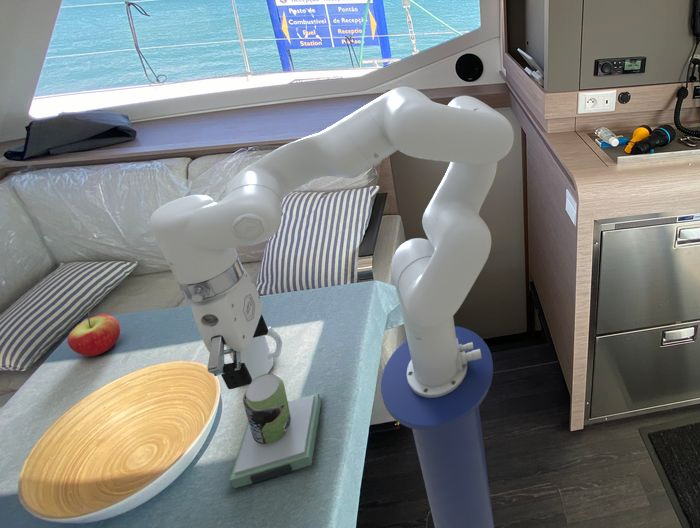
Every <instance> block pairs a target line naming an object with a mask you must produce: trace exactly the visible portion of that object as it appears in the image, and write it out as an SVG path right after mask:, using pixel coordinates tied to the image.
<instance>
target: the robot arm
mask: <svg viewBox="0 0 700 528" xmlns="http://www.w3.org/2000/svg"><path fill="white" fill-rule="evenodd" d="M514 141H515V131H514V128H513V126H512V124H511V122H510V121H509V119H508V118H506V117H505V116H504V115H503V114H502V113H501V112H499V111H497V110H496V109H494V108H493V107H491V106H489V105H488V104H486V103H485V102H483V101H481V100H480V99H478V98H476V97H474V96H470V95H460V96H455V97H454V98H452V100H451V101H449V103H448V104H447V105H446V104H444V103H443V104H442V103H438V102H435V101H433V100H431V98H429V97H428V96H427V95H425V94H424V93H423V92H421V91H420V90H418V89H416V88H414V87H410V86H399V87H395V88H392V89H391V90H389V91H387V92H386V93H383V94H382V95H380V96H379V97H377V98H375V99H374V100H372V101H370V102H368V103H367V104H365V105H364V106H362V107H360V108H359V109H357V110H355V111H354V112H352V113H351V114H349V115H347V116H345V117H344V118H342V119H340V120H339V121H337V122H336V123H334V124H332V125H330V126H328V127H327V128H325V129H324V130H322V131H320V132H318V133H314V134H311V135H308V136H306V137H303V138H300V139H297V140H294V141H292V142H289V143H287V144H284V145H282V146H280V147H278V148H276V149H274V150H272V151H271V152H269V153H267V154H266V155H264V156H262V157H261V158H258V160H256V161H254V162H252V163H251V164H249V165H247V166H246V167H245V168H243V169H241V170H240V171H238V172H237V174H235V176H234V177H232V178H231V180H230V181H229V182H228V184H227V187H226V189H225V191H224V195H223V198H222V199H220V200H219V201H218V202H215V201H214V199H213V198H212V197H210V196H208V195H203V194H192V195H187V196H182V197H179V198H176V199H173V200H171V201H168V202H165V203H164V204H162V205H161V206H159V207H158V208H156V209H155V210H154V211H153V212H152V213H151V215H150V217H149V218H148V219H149V221H148V225H149V228H150V231H151V233H152V235H153V237H154V239H155V241H156V243H157V245H158V247H159V249H160V251H161V253H162V255H163V257H164V258H165V261H166V262H167V265H168V267H169V269H170V270H171V273H172V274H173V276H174V278H175V280H176V282H177V284H178V286H179V288H180V290H181V293H182V295H183V296H184V299H185V300H186V301H187V302H189V303H190V309H191V312H192V316H193V319H194V322H195V325H196V328H197V330H198V333H199V335H200V338H201V340H202V342H203V344H204V346H205V348H206V349H207V351H208V353H209V357H208V362H207V372H208V373H210V374H212V375H213V376H215V377H217V376H221V378H222V380H223V382H224V383H225V385H226V388H227V389H228V390H235V389H238V388H241V387H245V386H248V385H249V384H251V382H252V378H251V376H250V373H249V371H248V369H247V367H246V365H245V363H241V350H245V349H246V348H247V347H248V346H249V344H250V343H251V341H252V338H255V337H259V336H263V335H265V336H267V335H266V334H267V333H268V328H267V327H268V325H267V323H266V321H265V319H264V316H263V314H262V312H263V309H264V303H263V300H262V298H261V296H260V293H259V291H258V290H257V287H256V286H255V283H254V282H253V280H252V278H251V277H250V275H249V273H248V271H247V270H246V269H245V268H244V266H243V265H242V262H241V259H240V257H239V255H238V252H237V250H236V248H243V247H249V246H255V245H258V244H261V243H262V244H263V243H264V242H267V241H268V240H270V239H271V238H273V237H274V236H275V234H277V232H278V231H279V229H280V227H281V223H282V213H283V211H282V209H283V208H282V205H283V198H285V197H287V196H288V195H289V194H291V193H292V192H294V191H296V190H297V189H299V188H301V187H302V186H305V185H306V184H308V183H310V182H313V181H314V180H317V179H320V178H324V177H338V178H344V179H354V178H357V177H359V176H361V175H363V174H364V173H365V172H366V171H368V170H370V169H371V168H372V167H373V168H374V166H376V165H377V164H378V163H380V162H382V161H384V160H385V159H387V158H388V157H390V156H391V155H393V154H394V153H395V152H397V151H399V152H400V153H402V154H404V155H406V156H409V157H412V158H416V159H420V160H429V161H435V162H445V163H446V162H447V163H449V165H448V167H447V170H446V172H445V174H444V175H443V177H442V179H441V181H440V183H439V185H438V186H437V188H436V189H435V192H434V194H433V195H432V198H431V199H430V201H429V203H428V205H427V207H426V208H425V210H424V212H423V214H422V218H421V219H422V220H421V224H422V228H423V231H424V233H425V235H426V238H427V239H426V238H422V237H416V238H410V239H408V240H406V241H405V242H403V243H401V244H400V246H398V247H397V249H396V250H395V252H394V254H393V256H392V260H391V268H390V270H391V276H392V280H393V284H394V287H395V291H396V292H395V293H396V295H397V298H398V302H399V303H398V304H399V307H400V313H401V315H402V321H403V326H404V331H405V335H406V340H407V341H408V345H409V350H410V355H411V361H410V362H409V365H408V368H407V380H408V384H409V386H410V388H411V389H412V390H413V391H414V392H415V393H416V394H418V395H420V396H422V397H427V398H436V397H441V396H444V395H446V394H448V393H450V392H452V391H453V390H454V389H456V388H457V387H458V386H459V385H460V384H461V382H462V381H463V379H464V378H465V375H466V372H467V362H469V361H472V360H473V361H474V360H478V359H482V357H481V351H480V349H477V350H473V351H471V352H467V353H465V351H466V350H471V349H474V348H473V343H472V342H471V343H467V344H465V345H462V344H458V339H457V338H456V333H455V326H456V325H455V319H454V315H455V314H456V313H457V312H458V310H459V309H460V308H461V306H462V304H463V303H464V302H465V299H466V298H467V296H468V294H469V293H470V291H471V289H472V287H473V286H474V284H475V282H476V281H477V278H478V277H479V275H480V273H481V272H482V270H483V268H484V267H485V265H486V263H487V261H488V259H489V256H490V253H491V248H492V235H491V231H490V229H489V226H488V225H487V224H486V222H485V221H484V220H483V218H482V217H481V216H480V210H481V208H482V206H483V204H484V202H485V200H486V198H487V196H488V194H489V192H490V189H491V187H492V186H493V183H494V180H495V177H496V175H497V168H498V162H499V161H501V160H503V159H504V158H506V156H507V155H508V154H509V153H510V151H511V150H512V147H513V145H514ZM225 345H228V346H229V347H230V349H227V348H226V349H225ZM229 353H233V360H232V362H229V363H226V362H225V355H230V354H229Z"/></svg>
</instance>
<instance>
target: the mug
mask: <svg viewBox="0 0 700 528" xmlns="http://www.w3.org/2000/svg"><path fill="white" fill-rule="evenodd" d="M267 328H268V333H267V334H266V335H263V336H259V337H255V338H252V341H251V343H250V344H249V346H248V347H247V348H246V349H245V350H241V363H245V365H246V367H247V369H248V371H249V373H250V376H251V378H252V381H253V380H254V379H255V378H257V377H259V376H261V375H263V374H269V372H270V371H271V370H272V368H273V366H274V359H277V358H279V357H280V356H281V352H282V348H283V340H282V337H281V336H280V335H279V333H278V332H277V331H276V330H274V329H273V327H272V326H267ZM266 336H269V337H271V338H272V339H273V340H274V341H275V342H276V347H275V349H272V350H271V349H270V346H269V343H268V341H267V338H266ZM224 347H225V348H226V349H230V347H229V346H228V345H224ZM228 355H229V356H230V358H231V361H233V353H229V354H228Z"/></svg>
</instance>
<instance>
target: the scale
mask: <svg viewBox="0 0 700 528" xmlns="http://www.w3.org/2000/svg"><path fill="white" fill-rule="evenodd" d="M287 401H288V406H289V411H290V416H291V422H290V426H289V428H288V430H287V431H286V432H285V434H284V435H283V436H282V437H280V438H279V439H278V440H276V441H274V442H272V443H268V444H260V443H257V442H256V441H255V440H254V439H253V436H252V433H251V429H250V425H249V422H248V421H247V424H246V427H245V430H244V434H243V437H242V439H241V443H240V446H239V450H238V452H237V456H236V459H235V462H234V465H233V468H232V470H231V471H232V472H231V475H230V478H229V481H230V483H231V486H232V487H233V489H238V488H241V487H245V486H248V485H251V484H256V483H260V482H263V481H266V480H270V479H273V478H276V477H279V476H282V475H286V474H288V473H292V472H293V471H297V470H300V469H304V468H307V467H309V466H310V467H311V466H312V463H313V456H314V451H315V445H316V438H317V433H318V425H319V419H320V412H321V407H322V399H321V396H320V394H319V393H314V394H311V395H306V396H303V397H300V398H296V399H292V400H287Z"/></svg>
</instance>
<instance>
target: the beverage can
mask: <svg viewBox="0 0 700 528" xmlns="http://www.w3.org/2000/svg"><path fill="white" fill-rule="evenodd" d="M288 401H289V400H288V397H287V392H286V387H285V382H284V380H282V378H281V377H279V376H277V375H276V374H274V373H267V374H263V375H261V376H259V377H257V378H255V379H254V380H253V381H252V382H251V384H249V385H247V387H246V388H245V392H244V393H243V398H242V404H243V407H244V411H245V414H246V418H247V423H248V422H249V425H250V429H251V433H252V436H253V439H254V440H255V441H256V442H257V443H260V444H268V443H272V442H274V441H276V440H278V439H279V438H280V437H282V436H283V435H284V434H285V432H286V431H287V430H288V428H289V426H290V422H291V416H290V411H289V406H288Z"/></svg>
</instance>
